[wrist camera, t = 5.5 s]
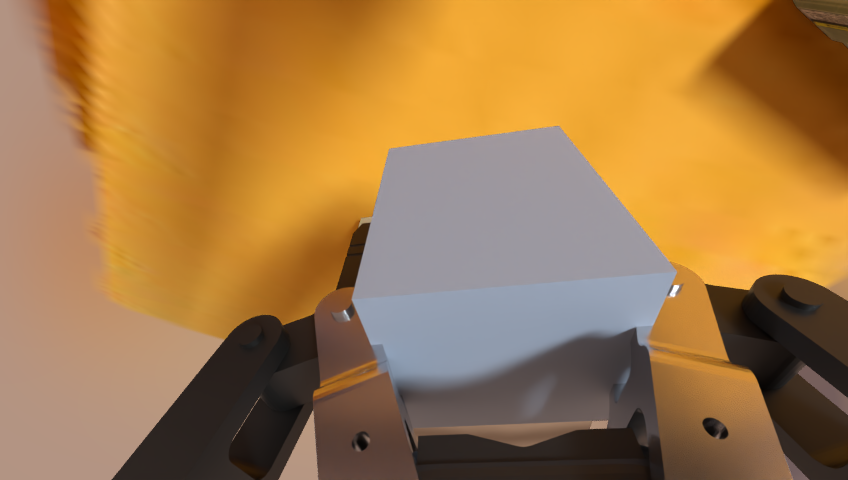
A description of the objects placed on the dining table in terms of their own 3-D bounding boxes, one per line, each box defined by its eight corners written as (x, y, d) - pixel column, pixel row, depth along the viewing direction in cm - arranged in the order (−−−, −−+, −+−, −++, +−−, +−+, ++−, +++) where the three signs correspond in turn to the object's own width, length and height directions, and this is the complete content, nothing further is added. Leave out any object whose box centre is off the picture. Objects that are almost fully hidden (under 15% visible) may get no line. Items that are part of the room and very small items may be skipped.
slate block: (389, 148, 10) (351, 299, 6) (558, 125, 10) (677, 271, 5) (415, 267, 13) (406, 428, 9) (545, 254, 13) (610, 420, 8)
